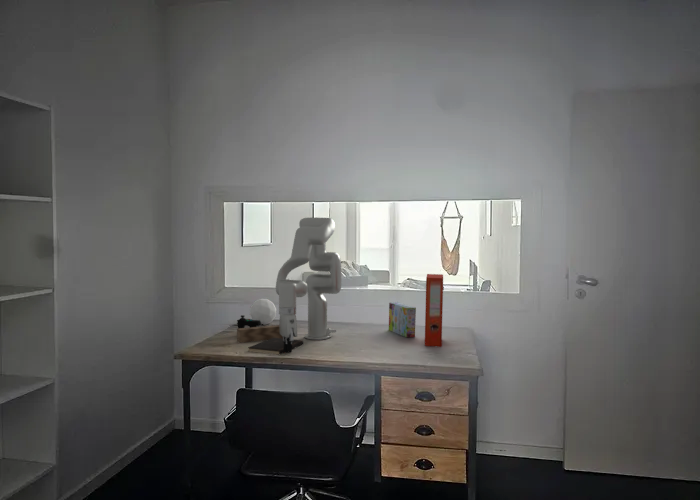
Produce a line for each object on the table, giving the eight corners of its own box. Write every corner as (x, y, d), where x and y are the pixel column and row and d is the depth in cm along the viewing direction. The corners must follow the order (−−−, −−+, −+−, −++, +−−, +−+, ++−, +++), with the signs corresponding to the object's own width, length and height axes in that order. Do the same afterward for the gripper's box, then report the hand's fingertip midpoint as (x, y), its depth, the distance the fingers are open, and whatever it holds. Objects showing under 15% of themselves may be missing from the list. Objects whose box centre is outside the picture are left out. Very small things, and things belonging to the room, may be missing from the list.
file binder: (442, 339, 288) (443, 274, 286) (442, 346, 271) (443, 278, 269) (425, 338, 289) (426, 274, 287) (424, 346, 272) (425, 277, 270)
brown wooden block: (283, 336, 292) (283, 324, 291) (286, 338, 288) (286, 325, 288) (237, 341, 280) (237, 328, 280) (239, 342, 277) (239, 330, 277)
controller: (239, 334, 297) (239, 314, 296) (262, 335, 294) (262, 315, 293) (235, 335, 292) (235, 316, 292) (258, 337, 289) (258, 317, 289)
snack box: (416, 337, 292) (416, 307, 291) (406, 338, 290) (406, 307, 289) (397, 329, 312) (397, 301, 311) (387, 330, 310) (388, 301, 309)
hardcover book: (247, 352, 260) (247, 347, 259) (273, 342, 281) (273, 337, 281) (279, 356, 254) (279, 350, 253) (303, 345, 275) (303, 340, 275)
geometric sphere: (269, 333, 323) (277, 314, 316) (243, 324, 321) (251, 305, 313) (274, 317, 335) (282, 298, 328) (249, 308, 333) (256, 289, 325)
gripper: (302, 312, 250) (302, 355, 251) (289, 307, 263) (289, 348, 264) (286, 313, 246) (286, 357, 247) (273, 308, 259) (273, 349, 260)
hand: (287, 352), depth 255 cm, fingers closed
